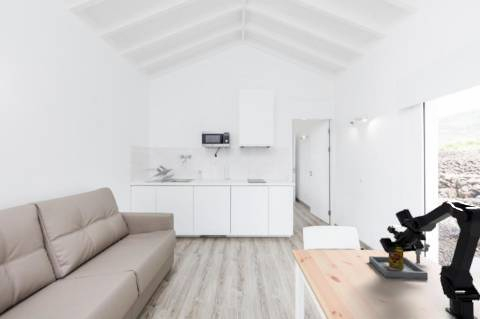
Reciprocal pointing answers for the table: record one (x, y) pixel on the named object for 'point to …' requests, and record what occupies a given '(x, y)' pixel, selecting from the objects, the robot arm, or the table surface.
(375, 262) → the tray
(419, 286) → the table surface
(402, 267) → the condiment
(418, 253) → the mechanical component
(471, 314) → the robot arm
